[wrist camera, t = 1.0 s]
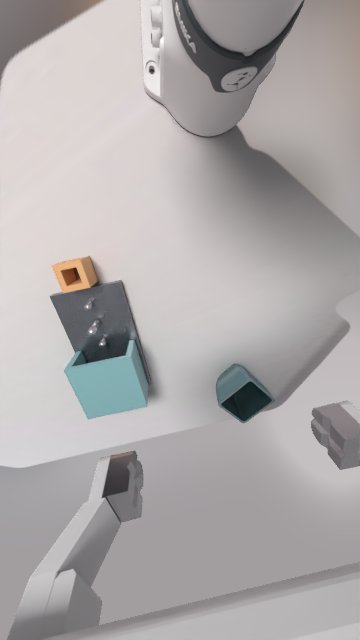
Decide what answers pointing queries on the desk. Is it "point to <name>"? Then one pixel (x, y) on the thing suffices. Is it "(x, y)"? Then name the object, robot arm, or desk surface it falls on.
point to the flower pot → (241, 393)
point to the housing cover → (109, 383)
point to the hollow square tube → (68, 276)
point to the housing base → (98, 322)
